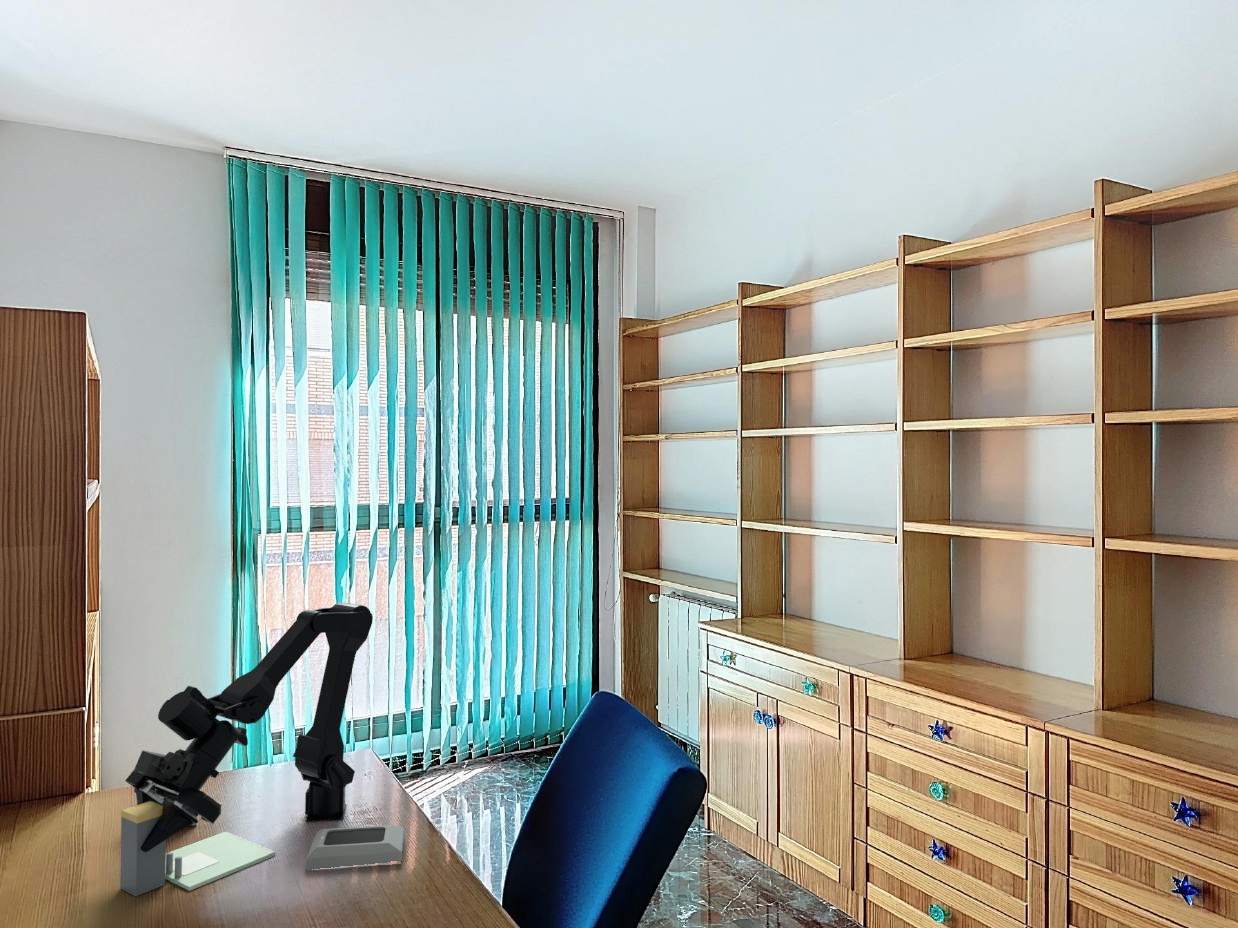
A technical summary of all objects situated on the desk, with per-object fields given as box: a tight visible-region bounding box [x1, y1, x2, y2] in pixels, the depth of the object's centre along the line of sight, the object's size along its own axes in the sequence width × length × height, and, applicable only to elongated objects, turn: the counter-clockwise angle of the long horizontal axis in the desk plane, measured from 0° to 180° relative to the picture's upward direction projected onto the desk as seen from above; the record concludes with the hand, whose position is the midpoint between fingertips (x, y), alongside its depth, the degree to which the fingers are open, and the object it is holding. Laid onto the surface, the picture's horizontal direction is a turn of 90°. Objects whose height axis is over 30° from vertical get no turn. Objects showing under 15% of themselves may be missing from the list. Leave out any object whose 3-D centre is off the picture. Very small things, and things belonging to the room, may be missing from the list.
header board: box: [165, 831, 276, 891], centre depth 144 cm, size 15×14×4 cm
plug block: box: [119, 801, 167, 897], centre depth 135 cm, size 4×4×12 cm
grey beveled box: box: [305, 824, 405, 871], centre depth 147 cm, size 10×4×15 cm
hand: (134, 846), depth 133 cm, fingers closed on plug block, 4 cm apart
